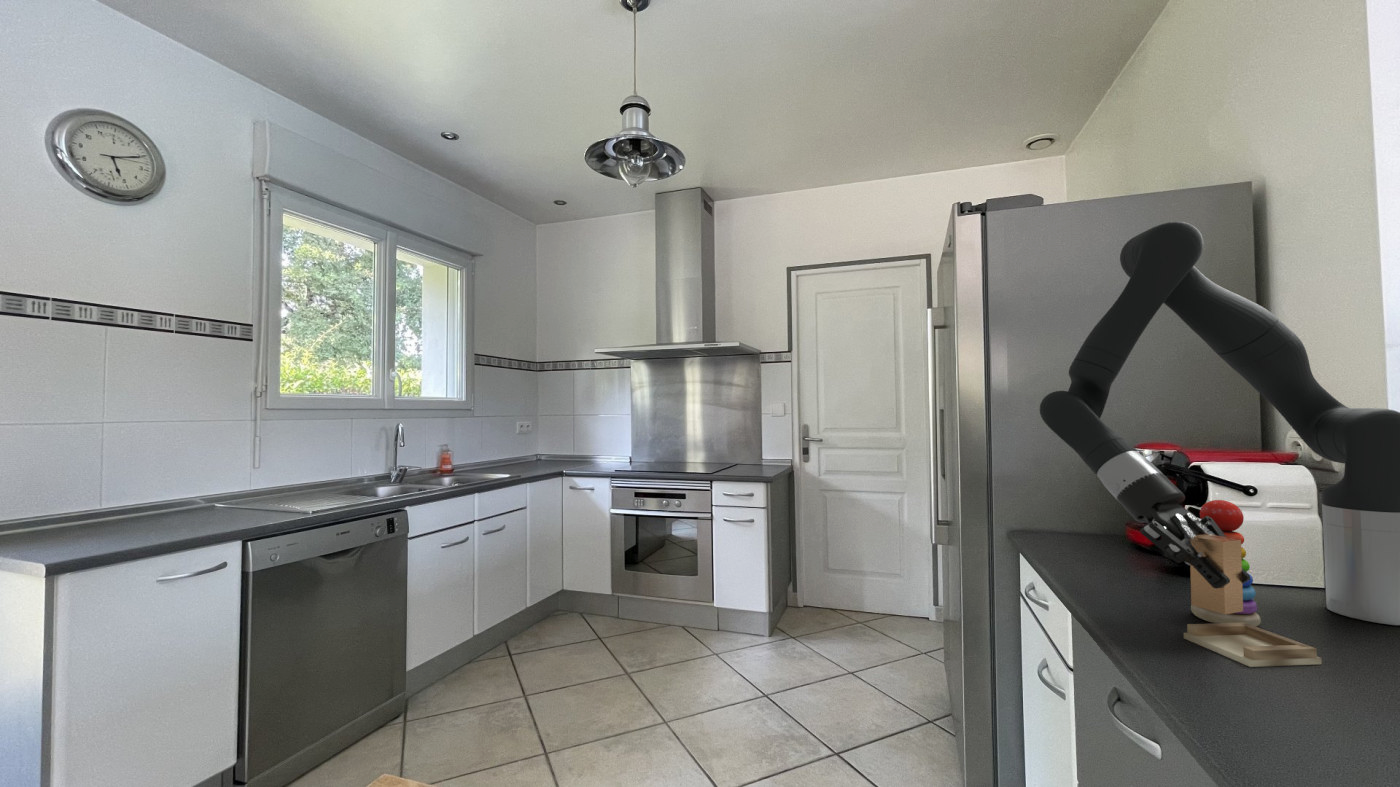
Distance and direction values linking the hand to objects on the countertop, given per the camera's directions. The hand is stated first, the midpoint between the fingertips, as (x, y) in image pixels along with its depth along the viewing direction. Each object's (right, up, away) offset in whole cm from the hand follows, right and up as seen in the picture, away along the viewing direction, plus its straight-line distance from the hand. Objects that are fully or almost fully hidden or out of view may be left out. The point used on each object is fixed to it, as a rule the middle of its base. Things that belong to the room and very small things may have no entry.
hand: (1233, 583), depth 77 cm
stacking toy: (+8, -9, +9) cm, 15 cm away
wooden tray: (0, -9, -2) cm, 9 cm away
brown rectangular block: (-1, -4, +2) cm, 5 cm away
